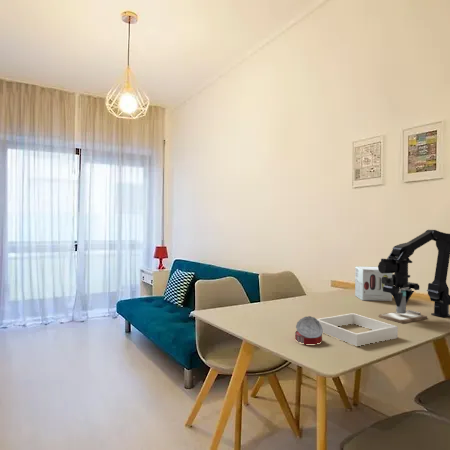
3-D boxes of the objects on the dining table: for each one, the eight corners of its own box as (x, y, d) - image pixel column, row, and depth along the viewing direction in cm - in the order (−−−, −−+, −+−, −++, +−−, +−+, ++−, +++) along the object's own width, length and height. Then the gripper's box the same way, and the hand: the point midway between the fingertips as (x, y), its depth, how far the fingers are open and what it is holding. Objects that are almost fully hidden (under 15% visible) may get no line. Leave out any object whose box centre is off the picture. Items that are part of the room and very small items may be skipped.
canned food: (320, 352, 134) (333, 331, 132) (307, 356, 127) (321, 334, 124) (298, 332, 141) (310, 312, 139) (284, 335, 134) (296, 314, 131)
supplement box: (362, 300, 200) (362, 269, 200) (354, 295, 213) (354, 266, 213) (393, 301, 199) (393, 269, 199) (383, 296, 212) (383, 266, 212)
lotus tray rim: (353, 323, 156) (353, 313, 156) (397, 337, 136) (397, 326, 136) (314, 330, 146) (314, 319, 145) (356, 347, 126) (356, 334, 126)
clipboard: (403, 312, 174) (403, 308, 174) (427, 318, 164) (427, 314, 164) (378, 316, 166) (378, 312, 166) (401, 323, 155) (401, 318, 155)
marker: (400, 310, 167) (400, 289, 167) (407, 312, 163) (407, 291, 163) (394, 311, 165) (394, 290, 165) (402, 313, 162) (402, 292, 161)
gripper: (398, 269, 175) (398, 300, 176) (372, 271, 167) (372, 304, 167) (420, 272, 166) (420, 305, 166) (393, 275, 157) (393, 309, 157)
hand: (401, 306), depth 164 cm, fingers closed on marker, 4 cm apart
